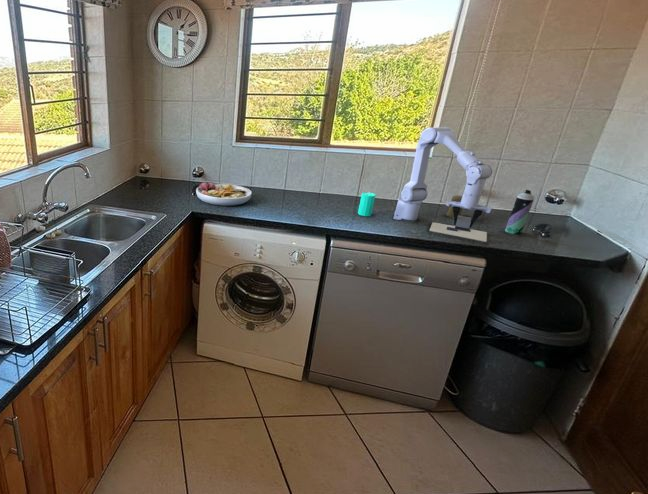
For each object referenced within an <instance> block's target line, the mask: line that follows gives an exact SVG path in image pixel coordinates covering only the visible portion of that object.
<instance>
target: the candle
mask: <svg viewBox="0 0 648 494" xmlns="http://www.w3.org/2000/svg"><path fill="white" fill-rule="evenodd" d="M376 195H377V194H376V193H374V192H362V193H361V195H360V201H359V206H358V209H357V214H358V215H359V216H362V217H371V216H372V213H373V209H374V204H375V199H376Z"/></svg>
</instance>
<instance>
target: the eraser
mask: <svg viewBox="0 0 648 494" xmlns="http://www.w3.org/2000/svg"><path fill="white" fill-rule="evenodd" d="M471 220H472V217H471V216H465V215H464V216H463V215H461V216H459V215H458V218H457V222H456V225H454V226H455V229H459V230H464V231H468V230H469V229H470V224H471Z"/></svg>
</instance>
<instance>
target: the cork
mask: <svg viewBox="0 0 648 494" xmlns="http://www.w3.org/2000/svg"><path fill="white" fill-rule="evenodd" d="M462 196H463V195H459V194H458V195H457V194H455V195H453V196H452V197H451V201H454V202H461V199H462ZM462 210H463V208H460V211H459V214H458V215H459V216H462ZM445 215H446V216H447V217H451V218H454V213H453V207H451V206H449V207H448V210H447V212H446V214H445Z"/></svg>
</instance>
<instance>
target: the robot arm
mask: <svg viewBox="0 0 648 494" xmlns="http://www.w3.org/2000/svg"><path fill="white" fill-rule="evenodd" d="M439 144H440V145H441V144H442V145H444V146H446V147H447V148H448V149H449V150H450V151H451V152H452V153H453V154H454V155H455V156H456V161H457V163H458V164H459V165H460V166H461V167H462V168H463V169H464V170H465V176H466V181H465V182H466V184H465V186H464V190H463V193H462V195H461V196H462V199H461V202H454V201H452V200H447V201H446V205H445V206H446V207H450V206H451V207H453V213H454V217H453V219H454V221H453V226H455V225H456V222H457V218H458V214H459V211H460V208H462V209H464V210H471V211H473V214H472V217H471V224H470V227H469V229H472V226H473V224H475V222H476V221H477V219H478V218H480V217H481V216H482V214H483V212H484V213H486V214H490V213H491V211H492V207H491V206H485V205H480V204H479V203H480V200H481V197H482V194H483V191H484V188H485V184H486V181H487V180H488V179H489V178H490V177H491V176H492V174H493V168H492V166H491V165H490V164H487V163H484V162H483V161H482V160H481V159H479V158H478V157H477V156H476V152H475V151H471V150H466V148H464V146H463V145H462V144H461V143H460V141H459V140H458V139H457V138H456V136H455V132H454V131H453V130H452V129H451V128H450V127H448V126H442V127H441V126H440V127H432V126H431V127H427V128H425V129H423V131H421V133H420V138H419V139H418V141H417V144H416V149H415V154H414V159H413V164H412V169H411V175H410V180H409V181H408V182H407V183H406V184H405V185H404V186H403V188H402V191H401V193H400V198H401V199H398V200H397V204H396V207H395V211H394V213H393V214H394V216H393V220H397V221H401V220H402V219H403V220H406V221H417V220H418V215H419V213H420V208H421V204H422V203H423V201H425V200H426V199H427V197H428V191H427V190H428V185H427V184H426V182H425V180H426V176H427V175H426V174H427V169H428V166H429V159H430V156H431V150H432V148H434V147H436V146H437V145H439Z"/></svg>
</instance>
